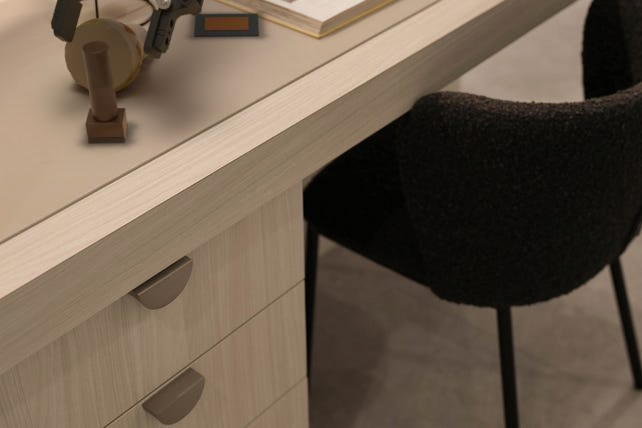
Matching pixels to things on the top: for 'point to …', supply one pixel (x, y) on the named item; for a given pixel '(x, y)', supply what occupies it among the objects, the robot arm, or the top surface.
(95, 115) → the stamp
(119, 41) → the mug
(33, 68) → the top surface
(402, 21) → the top surface
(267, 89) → the top surface
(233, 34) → the mat
